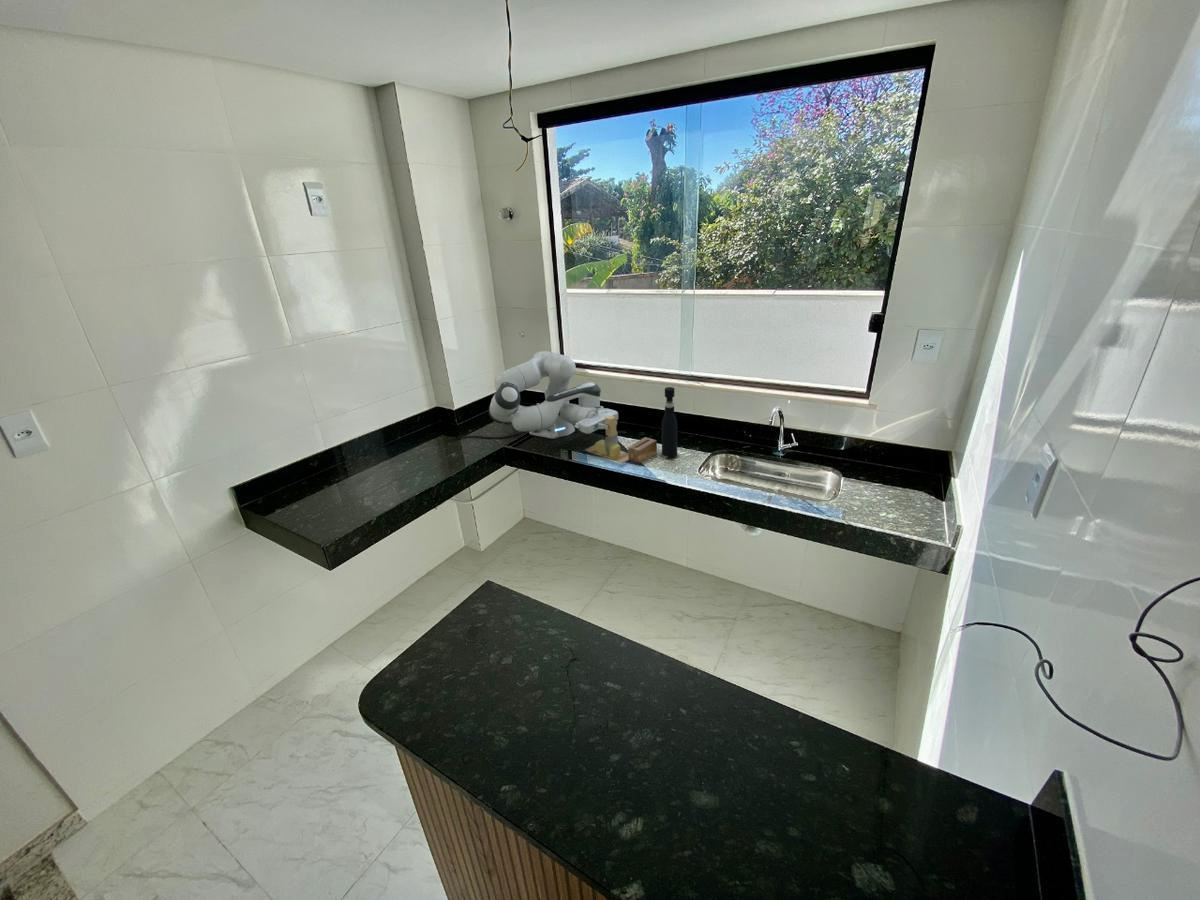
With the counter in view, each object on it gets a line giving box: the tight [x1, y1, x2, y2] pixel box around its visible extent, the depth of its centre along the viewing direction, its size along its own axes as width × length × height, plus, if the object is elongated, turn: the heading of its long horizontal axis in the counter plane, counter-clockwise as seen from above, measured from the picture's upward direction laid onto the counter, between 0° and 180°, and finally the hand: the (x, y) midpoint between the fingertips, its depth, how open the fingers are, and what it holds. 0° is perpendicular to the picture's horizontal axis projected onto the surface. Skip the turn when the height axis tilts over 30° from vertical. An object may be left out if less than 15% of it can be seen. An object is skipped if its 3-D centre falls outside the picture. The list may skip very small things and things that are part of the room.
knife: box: [604, 415, 619, 455], centre depth 205 cm, size 3×8×16 cm, turn 138°
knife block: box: [627, 436, 658, 464], centre depth 205 cm, size 6×12×7 cm, turn 138°
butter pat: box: [609, 443, 621, 457], centre depth 208 cm, size 2×4×4 cm, turn 138°
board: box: [584, 444, 630, 464], centre depth 211 cm, size 22×9×1 cm, turn 48°
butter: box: [594, 439, 606, 454], centre depth 212 cm, size 6×4×4 cm
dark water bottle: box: [661, 386, 678, 460], centre depth 200 cm, size 6×6×30 cm
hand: (612, 425), depth 203 cm, fingers closed on knife, 3 cm apart
